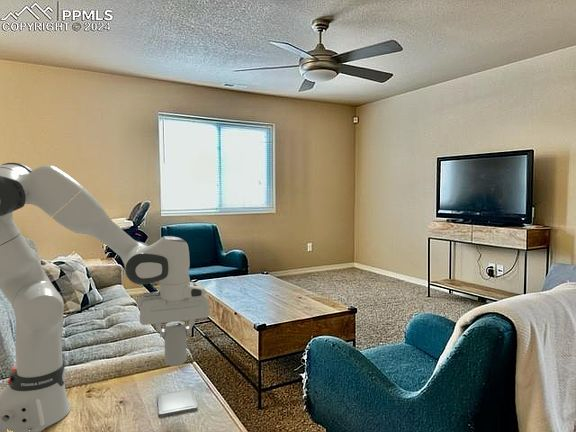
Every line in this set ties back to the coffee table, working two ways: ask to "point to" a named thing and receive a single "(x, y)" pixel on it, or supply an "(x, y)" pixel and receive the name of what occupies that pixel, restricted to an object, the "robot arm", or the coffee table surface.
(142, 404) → the coffee table surface
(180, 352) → the beverage can
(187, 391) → the coaster
